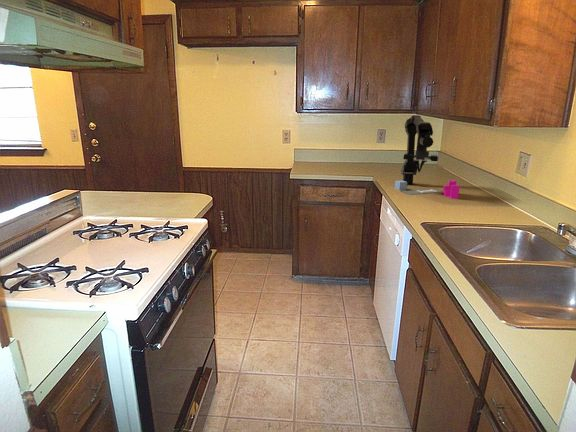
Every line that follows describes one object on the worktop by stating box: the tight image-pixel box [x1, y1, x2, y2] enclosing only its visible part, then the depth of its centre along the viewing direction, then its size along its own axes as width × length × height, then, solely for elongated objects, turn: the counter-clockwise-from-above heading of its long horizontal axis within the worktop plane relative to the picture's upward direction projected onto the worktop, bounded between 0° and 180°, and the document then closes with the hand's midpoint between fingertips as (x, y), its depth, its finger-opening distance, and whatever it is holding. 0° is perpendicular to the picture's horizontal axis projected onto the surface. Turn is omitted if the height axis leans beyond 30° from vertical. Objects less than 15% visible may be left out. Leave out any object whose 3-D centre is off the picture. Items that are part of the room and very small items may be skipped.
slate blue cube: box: [394, 179, 408, 191], centre depth 236 cm, size 5×5×5 cm
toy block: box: [442, 179, 460, 200], centre depth 221 cm, size 15×6×8 cm, turn 165°
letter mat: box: [400, 188, 443, 195], centre depth 231 cm, size 9×23×1 cm, turn 108°
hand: (419, 172), depth 228 cm, fingers closed
